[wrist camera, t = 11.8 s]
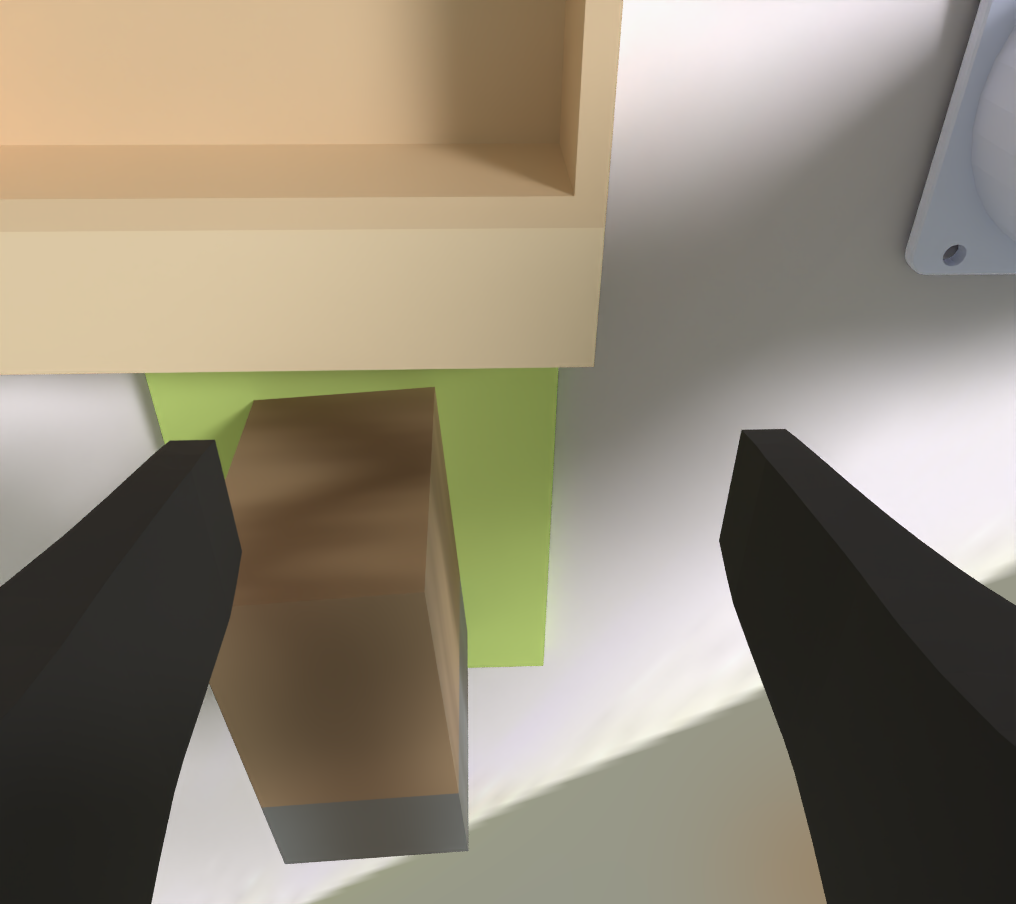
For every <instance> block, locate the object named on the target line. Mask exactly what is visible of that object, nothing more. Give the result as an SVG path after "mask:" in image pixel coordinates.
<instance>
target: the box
mask: <svg viewBox="0 0 1016 904" xmlns="http://www.w3.org/2000/svg"><path fill="white" fill-rule="evenodd" d="M225 483H226V487H227V491H228V495H229V499H230V503H231V507H232V511H233V516H234V520H235V524H236V528H237V532H238V536H239V540H240V544H241V549H242V555H241V561H240V567H239V573H238V579H237V585H236V590H235V596H234V601H233V606H232V611H231V616H230V619H229V622H228V626H227V629H226V632H225V635H224V638H223V641H222V645H221V648H220V651H219V654H218V657H217V660H216V663H215V666H214V669H213V672H212V675H211V678H210V681H209V684H210V686H211V689H212V691H213V693H214V696H215V698H216V701H217V703H218V705H219V708H220V710H221V712H222V715H223V717H224V720H225V722H226V724H227V727H228V729H229V732H230V734H231V736H232V739H233V741H234V743H235V746H236V748H237V751H238V753H239V755H240V758H241V760H242V763H243V765H244V767H245V770H246V772H247V774H248V777H249V779H250V782H251V784H252V786H253V789H254V791H255V794H256V796H257V798H258V801H259V803H260V805H261V808H262V810H263V813H264V815H265V817H266V820H267V822H268V825H269V827H270V829H271V832H272V834H273V836H274V839H275V841H276V844H277V846H278V848H279V851H280V853H281V856H282V858H283V860H284V863H285V864H294V863H308V862H321V861H335V860H349V859H363V858H377V857H391V856H404V855H418V854H431V853H446V852H460V851H468V637H467V625H466V618H465V610H464V602H463V595H462V587H461V580H460V572H459V565H458V557H457V550H456V542H455V535H454V527H453V520H452V512H451V505H450V497H449V490H448V482H447V474H446V467H445V459H444V452H443V444H442V437H441V429H440V422H439V414H438V407H437V399H436V392H435V387H426V388H412V389H399V390H386V391H372V392H359V393H345V394H332V395H318V396H305V397H292V398H278V399H265V400H254V401H253V404H252V406H251V409H250V412H249V415H248V418H247V420H246V423H245V426H244V429H243V432H242V434H241V437H240V440H239V443H238V446H237V448H236V451H235V454H234V457H233V460H232V462H231V465H230V468H229V471H228V474H227V476H226V479H225Z"/></svg>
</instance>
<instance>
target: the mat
mask: <svg viewBox="0 0 1016 904" xmlns="http://www.w3.org/2000/svg"><path fill="white" fill-rule="evenodd" d="M558 368H559V367H556V368H480V369H404V370H329V371H253V372H177V373H145V376H146V380H147V383H148V387H149V390H150V394H151V397H152V401H153V405H154V408H155V412H156V415H157V419H158V422H159V426H160V429H161V433H162V436H163V440H164V444H166V443H167V442H169V441H170V440H215V441H216V446H217V450H218V454H219V458H220V462H221V466H222V470H223V474H224V479H226V476H227V474H228V471H229V468H230V465H231V462H232V460H233V457H234V454H235V451H236V448H237V446H238V443H239V440H240V437H241V434H242V432H243V429H244V426H245V423H246V420H247V418H248V415H249V412H250V409H251V406H252V404H253V401H254V400H265V399H278V398H292V397H305V396H318V395H332V394H345V393H359V392H372V391H386V390H399V389H412V388H426V387H435V392H436V399H437V407H438V414H439V422H440V429H441V437H442V444H443V452H444V459H445V467H446V474H447V482H448V490H449V497H450V505H451V512H452V520H453V527H454V535H455V542H456V550H457V557H458V565H459V572H460V580H461V587H462V595H463V602H464V610H465V618H466V625H467V637H468V668H476V667H514V666H543V661H544V641H545V622H546V602H547V583H548V563H549V544H550V524H551V505H552V485H553V466H554V446H555V427H556V407H557V388H558Z"/></svg>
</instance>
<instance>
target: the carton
mask: <svg viewBox="0 0 1016 904" xmlns="http://www.w3.org/2000/svg"><path fill="white" fill-rule="evenodd" d="M622 9H623V0H0V375H26V374H102V373H177V372H253V371H329V370H404V369H480V368H556V367H594V360H595V348H596V335H597V323H598V310H599V297H600V285H601V272H602V260H603V247H604V235H605V222H606V210H607V197H608V184H609V172H610V159H611V147H612V134H613V122H614V109H615V97H616V84H617V71H618V59H619V46H620V34H621V21H622Z"/></svg>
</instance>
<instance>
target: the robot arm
mask: <svg viewBox="0 0 1016 904" xmlns="http://www.w3.org/2000/svg"><path fill="white" fill-rule="evenodd" d="M954 245H958V250H957V251H956V253H955V254H954V255H953V256H951V257H950V258H947V259H943V255H944V254H945V252H946V250H947V249H949V248H950V247H952V246H954ZM905 259H906V261H907V264H908V265H909V266H910V267H911V268H912V269H913V270H914V271H916V272H917V273H918V274H923V275H982V274H1016V0H981V1H980V5H979V8H978V11H977V15H976V18H975V21H974V25H973V28H972V31H971V35H970V38H969V41H968V44H967V48H966V51H965V54H964V58H963V61H962V64H961V68H960V71H959V74H958V78H957V81H956V84H955V88H954V91H953V94H952V98H951V101H950V104H949V108H948V111H947V114H946V118H945V121H944V124H943V128H942V131H941V134H940V137H939V141H938V144H937V147H936V151H935V154H934V157H933V161H932V164H931V167H930V171H929V174H928V177H927V181H926V184H925V187H924V191H923V194H922V197H921V201H920V204H919V207H918V211H917V214H916V217H915V221H914V224H913V227H912V230H911V234H910V237H909V240H908V244H907V247H906V252H905ZM719 542H720V547H721V552H722V556H723V561H724V566H725V571H726V575H727V580H728V584H729V588H730V592H731V596H732V601H733V604H734V607H735V610H736V613H737V616H738V618H739V621H740V624H741V627H742V629H743V632H744V635H745V637H746V640H747V643H748V646H749V648H750V651H751V654H752V656H753V659H754V662H755V664H756V667H757V670H758V672H759V675H760V678H761V680H762V683H763V686H764V688H765V691H766V694H767V696H768V699H769V701H770V704H771V707H772V710H773V712H774V715H775V718H776V720H777V723H778V725H779V728H780V731H781V733H782V736H783V739H784V742H785V745H786V748H787V750H788V754H789V757H790V760H791V763H792V766H793V769H794V772H795V776H796V780H797V784H798V787H799V792H800V795H801V799H802V803H803V807H804V811H805V814H806V818H807V823H808V826H809V830H810V834H811V838H812V842H813V846H814V850H815V855H816V859H817V863H818V867H819V872H820V876H821V880H822V884H823V889H824V893H825V897H826V901H827V904H1016V605H1014V604H1013V603H1011V602H1009V601H1008V600H1006V599H1005V598H1003V597H1001V596H1000V595H998V594H997V593H995V592H993V591H992V590H990V589H988V588H987V587H985V586H984V585H982V584H981V583H979V582H978V581H977V580H975V579H974V578H972V577H971V576H969V575H968V574H966V573H965V572H963V571H962V570H960V569H959V568H957V567H956V566H955V565H953V564H952V563H951V562H949V561H948V560H947V559H945V558H944V557H942V556H941V555H940V554H938V553H937V552H936V551H934V550H933V549H932V548H930V547H929V546H927V545H926V544H925V543H923V542H922V541H921V540H919V539H918V538H917V537H915V536H914V535H913V534H911V533H910V532H909V531H908V530H906V529H905V528H904V527H902V526H901V525H900V524H899V523H897V522H896V521H895V520H894V519H892V518H891V517H890V516H889V515H887V514H886V513H885V512H884V511H882V510H881V509H880V508H879V507H878V506H876V505H875V504H874V503H873V502H871V501H870V500H869V499H868V498H867V497H865V496H864V495H863V494H862V493H861V492H859V491H858V490H857V489H856V488H855V487H854V486H852V485H851V484H850V483H849V482H848V481H847V480H845V479H844V478H843V477H842V476H841V475H840V474H838V473H837V472H836V471H835V470H834V469H833V468H831V467H830V466H829V465H828V464H827V463H826V462H824V461H823V460H822V459H821V458H820V457H819V456H817V455H816V454H815V453H814V452H813V451H812V450H810V449H809V448H808V447H807V446H806V445H805V444H803V443H802V442H801V441H800V440H799V439H797V438H796V437H795V436H794V435H792V434H791V433H790V432H788V431H787V430H786V429H764V430H742V431H741V436H740V441H739V445H738V450H737V455H736V460H735V465H734V470H733V475H732V480H731V485H730V490H729V494H728V499H727V504H726V509H725V514H724V519H723V524H722V529H721V534H720V539H719ZM241 555H242V549H241V544H240V540H239V536H238V532H237V528H236V524H235V520H234V516H233V511H232V507H231V503H230V499H229V495H228V491H227V487H226V483H225V479H224V474H223V470H222V466H221V462H220V458H219V454H218V450H217V446H216V441H215V440H170V441H169V442H167V443H166V444H165V445H164V446H163V447H161V448H160V449H159V450H158V451H157V452H156V453H155V454H153V455H152V456H151V457H150V458H149V459H148V460H147V461H146V462H145V463H144V464H142V465H141V466H140V467H139V468H138V469H137V470H136V471H135V472H134V473H133V474H132V475H131V476H129V477H128V478H127V479H126V480H125V481H124V482H123V483H122V484H121V485H120V486H119V487H117V488H116V489H115V490H114V491H113V492H112V493H111V494H110V495H109V496H108V497H107V498H105V499H104V500H103V501H102V502H101V503H100V504H99V505H98V506H96V507H95V508H94V509H93V510H92V511H91V512H90V513H89V514H87V515H86V516H85V517H84V518H83V519H82V520H81V521H80V522H79V523H77V524H76V525H75V526H74V527H73V528H72V529H71V530H70V531H68V532H67V533H66V534H65V535H64V536H63V537H61V538H60V539H59V540H58V541H56V542H55V543H54V544H53V545H51V546H50V547H49V548H48V549H47V550H45V551H44V552H43V553H42V554H40V555H39V556H38V557H37V558H35V559H34V560H33V561H32V562H31V563H29V564H28V565H27V566H26V567H24V568H23V569H22V570H21V571H20V572H18V573H17V574H16V575H15V576H13V577H12V578H11V579H10V580H8V581H7V582H6V583H5V584H3V585H2V586H1V587H0V904H151V902H152V897H153V892H154V886H155V881H156V876H157V871H158V866H159V861H160V856H161V852H162V847H163V842H164V838H165V833H166V829H167V824H168V819H169V815H170V810H171V805H172V801H173V796H174V792H175V788H176V785H177V781H178V778H179V774H180V771H181V767H182V763H183V760H184V757H185V754H186V751H187V748H188V745H189V742H190V739H191V736H192V733H193V730H194V727H195V724H196V721H197V718H198V714H199V711H200V708H201V705H202V702H203V699H204V696H205V693H206V690H207V687H208V684H209V681H210V678H211V675H212V672H213V669H214V666H215V663H216V660H217V657H218V654H219V651H220V648H221V645H222V641H223V638H224V635H225V632H226V629H227V626H228V622H229V619H230V616H231V611H232V606H233V601H234V596H235V590H236V585H237V579H238V573H239V567H240V561H241Z"/></svg>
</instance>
